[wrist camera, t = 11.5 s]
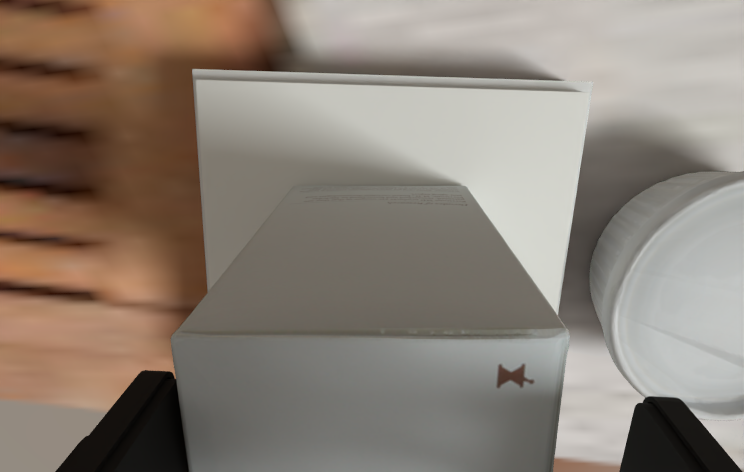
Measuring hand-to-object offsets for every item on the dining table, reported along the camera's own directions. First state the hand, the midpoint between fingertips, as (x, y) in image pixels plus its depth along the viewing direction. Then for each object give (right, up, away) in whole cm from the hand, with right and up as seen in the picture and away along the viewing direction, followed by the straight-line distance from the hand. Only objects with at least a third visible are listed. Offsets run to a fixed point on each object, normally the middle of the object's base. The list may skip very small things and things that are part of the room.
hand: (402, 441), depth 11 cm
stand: (0, +4, +15) cm, 16 cm away
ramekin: (+15, +3, +16) cm, 22 cm away
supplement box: (0, +3, +12) cm, 12 cm away
